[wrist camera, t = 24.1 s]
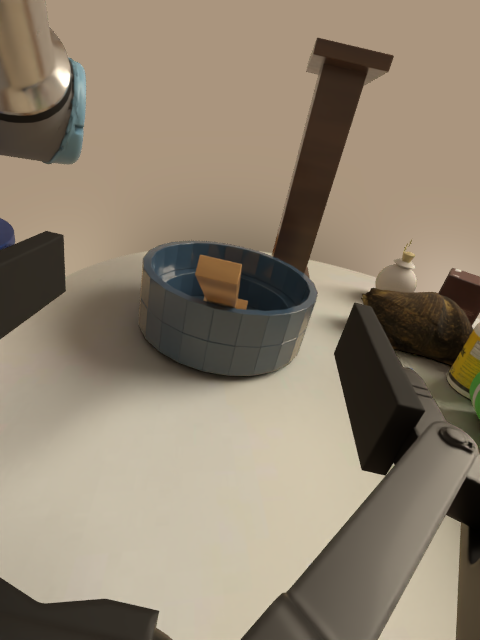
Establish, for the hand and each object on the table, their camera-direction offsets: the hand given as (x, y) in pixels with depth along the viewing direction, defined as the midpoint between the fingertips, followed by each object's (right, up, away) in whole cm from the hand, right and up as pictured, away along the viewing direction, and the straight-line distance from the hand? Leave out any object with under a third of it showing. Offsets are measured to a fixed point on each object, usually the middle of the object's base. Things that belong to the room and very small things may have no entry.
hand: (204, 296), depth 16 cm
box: (+34, -1, +40) cm, 53 cm away
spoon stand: (+8, +5, +39) cm, 40 cm away
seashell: (+24, -4, +30) cm, 39 cm away
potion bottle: (+26, +2, +43) cm, 50 cm away
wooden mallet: (0, 0, +14) cm, 14 cm away
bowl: (-1, -2, +23) cm, 23 cm away
